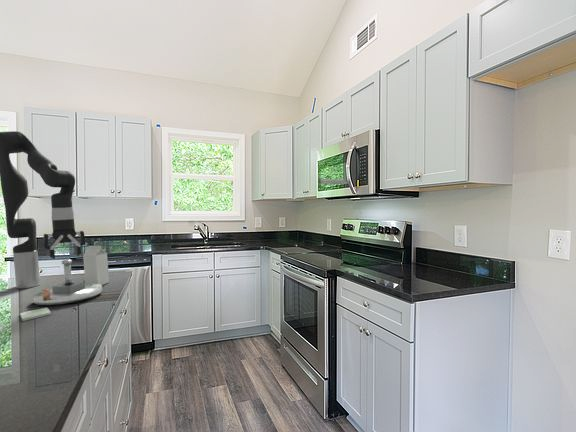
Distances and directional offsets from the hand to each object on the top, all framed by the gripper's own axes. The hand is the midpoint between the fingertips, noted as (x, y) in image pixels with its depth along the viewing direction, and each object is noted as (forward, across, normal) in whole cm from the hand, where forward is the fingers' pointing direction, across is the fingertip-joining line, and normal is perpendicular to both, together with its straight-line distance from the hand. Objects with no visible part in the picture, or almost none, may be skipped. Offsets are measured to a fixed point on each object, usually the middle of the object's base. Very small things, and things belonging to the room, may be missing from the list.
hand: (66, 257), depth 134 cm
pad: (+18, -13, -14) cm, 26 cm away
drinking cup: (+18, +15, +28) cm, 37 cm away
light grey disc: (+16, 0, 0) cm, 16 cm away
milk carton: (+18, +14, +15) cm, 27 cm away
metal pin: (+15, 0, 0) cm, 15 cm away
